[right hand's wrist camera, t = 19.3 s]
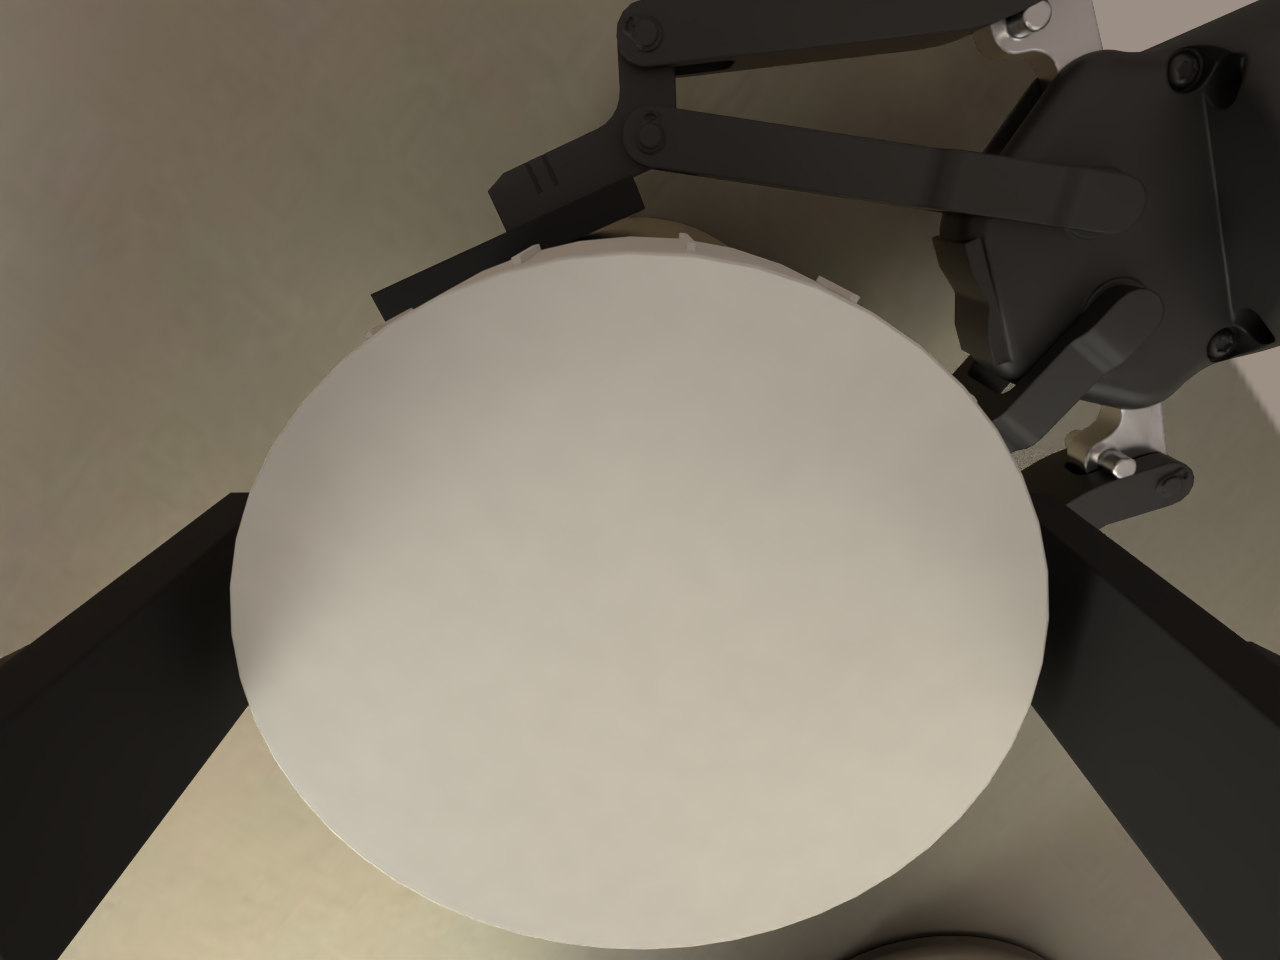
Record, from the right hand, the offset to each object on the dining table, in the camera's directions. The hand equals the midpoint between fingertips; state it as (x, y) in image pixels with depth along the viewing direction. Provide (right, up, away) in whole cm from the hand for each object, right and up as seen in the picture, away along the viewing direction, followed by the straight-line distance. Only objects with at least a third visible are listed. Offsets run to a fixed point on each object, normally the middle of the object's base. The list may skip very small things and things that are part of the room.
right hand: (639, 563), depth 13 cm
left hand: (-4, +1, +7) cm, 8 cm away
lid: (0, -1, -3) cm, 3 cm away
